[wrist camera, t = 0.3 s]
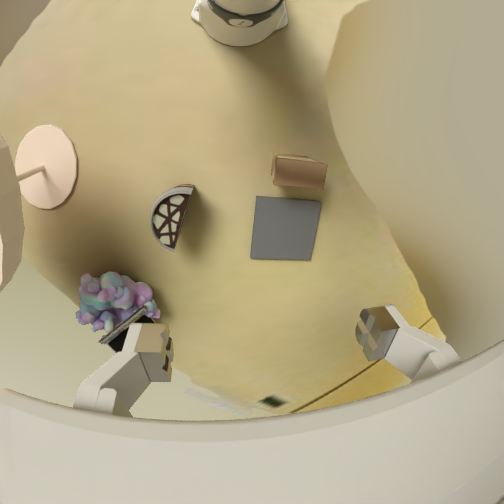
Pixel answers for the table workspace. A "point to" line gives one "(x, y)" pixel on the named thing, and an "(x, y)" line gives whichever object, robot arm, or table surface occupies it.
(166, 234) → the half chocolate cake
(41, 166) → the orange pedestal table
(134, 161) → the table surface
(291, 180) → the tall wooden block
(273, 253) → the mat
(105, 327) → the pastel lumpy piece
